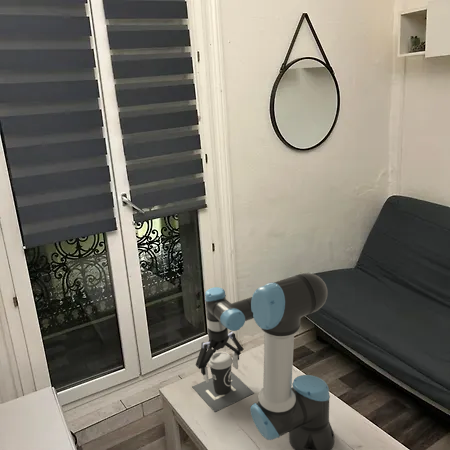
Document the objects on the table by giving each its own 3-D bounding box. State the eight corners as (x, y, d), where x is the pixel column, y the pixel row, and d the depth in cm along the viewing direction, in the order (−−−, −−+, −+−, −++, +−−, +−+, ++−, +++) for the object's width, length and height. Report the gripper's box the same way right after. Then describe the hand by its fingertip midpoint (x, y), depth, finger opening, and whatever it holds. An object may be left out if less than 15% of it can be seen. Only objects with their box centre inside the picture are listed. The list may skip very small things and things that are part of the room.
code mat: (254, 393, 186) (254, 392, 185) (214, 412, 177) (214, 411, 177) (229, 370, 200) (229, 370, 200) (192, 387, 192) (192, 386, 192)
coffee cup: (224, 378, 195) (221, 347, 190) (239, 389, 188) (237, 357, 183) (205, 389, 189) (202, 357, 184) (221, 400, 182) (218, 367, 177)
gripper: (239, 312, 188) (242, 357, 195) (183, 333, 176) (188, 380, 183) (250, 320, 182) (252, 366, 189) (193, 342, 170) (198, 391, 177)
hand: (221, 373), depth 186 cm, fingers open, 13 cm apart
